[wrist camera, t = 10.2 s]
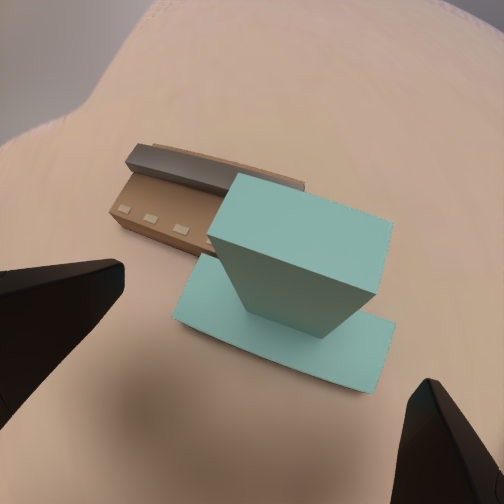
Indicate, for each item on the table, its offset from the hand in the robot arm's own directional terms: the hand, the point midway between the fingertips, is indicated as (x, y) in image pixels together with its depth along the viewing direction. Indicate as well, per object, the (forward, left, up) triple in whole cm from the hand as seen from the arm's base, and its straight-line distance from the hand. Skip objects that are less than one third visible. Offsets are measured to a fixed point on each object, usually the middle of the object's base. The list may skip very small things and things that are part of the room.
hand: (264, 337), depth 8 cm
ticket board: (0, +11, -11) cm, 15 cm away
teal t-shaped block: (+1, +1, -11) cm, 11 cm away
